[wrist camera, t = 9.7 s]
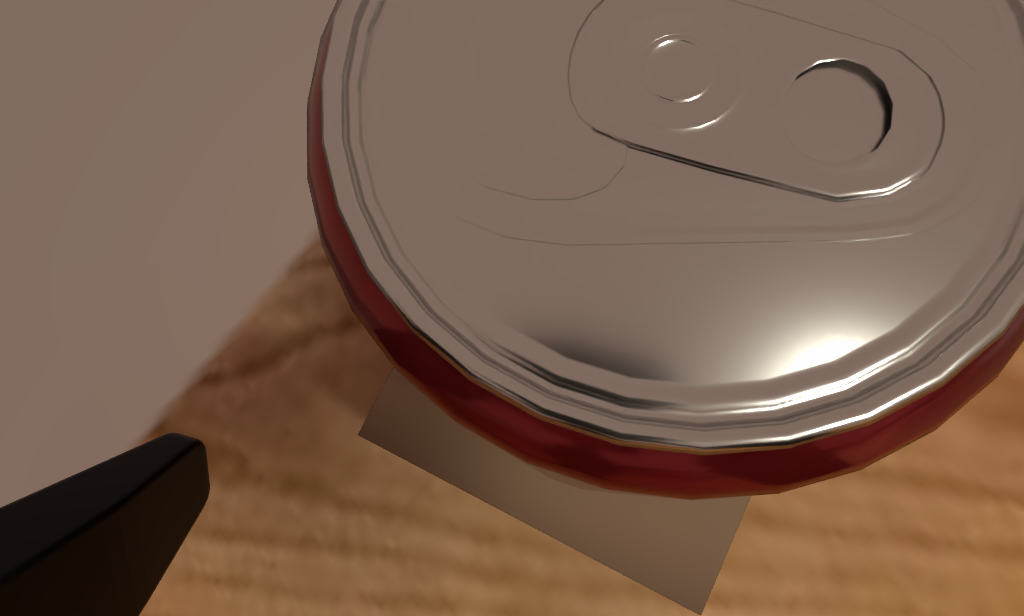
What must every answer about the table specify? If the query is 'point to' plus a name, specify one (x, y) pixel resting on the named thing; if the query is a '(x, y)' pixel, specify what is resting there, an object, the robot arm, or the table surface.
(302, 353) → the table surface
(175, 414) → the table surface
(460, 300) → the soda can
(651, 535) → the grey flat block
